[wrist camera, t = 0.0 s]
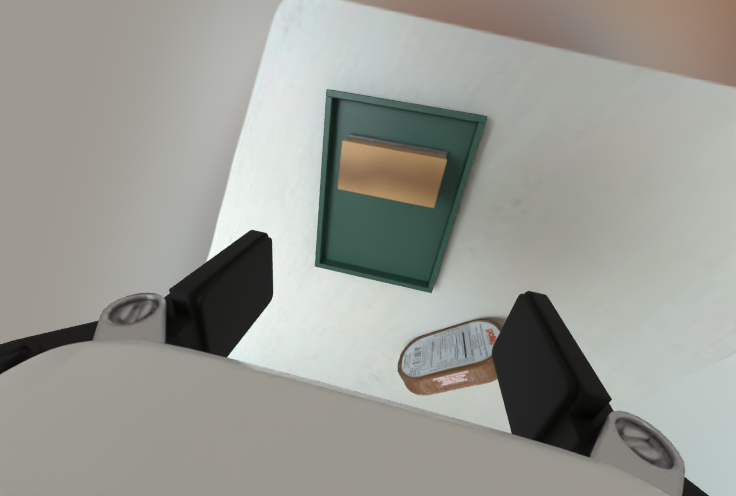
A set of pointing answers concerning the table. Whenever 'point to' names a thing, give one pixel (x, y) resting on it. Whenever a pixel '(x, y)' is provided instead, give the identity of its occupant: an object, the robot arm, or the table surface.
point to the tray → (384, 216)
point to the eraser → (391, 169)
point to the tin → (450, 358)
